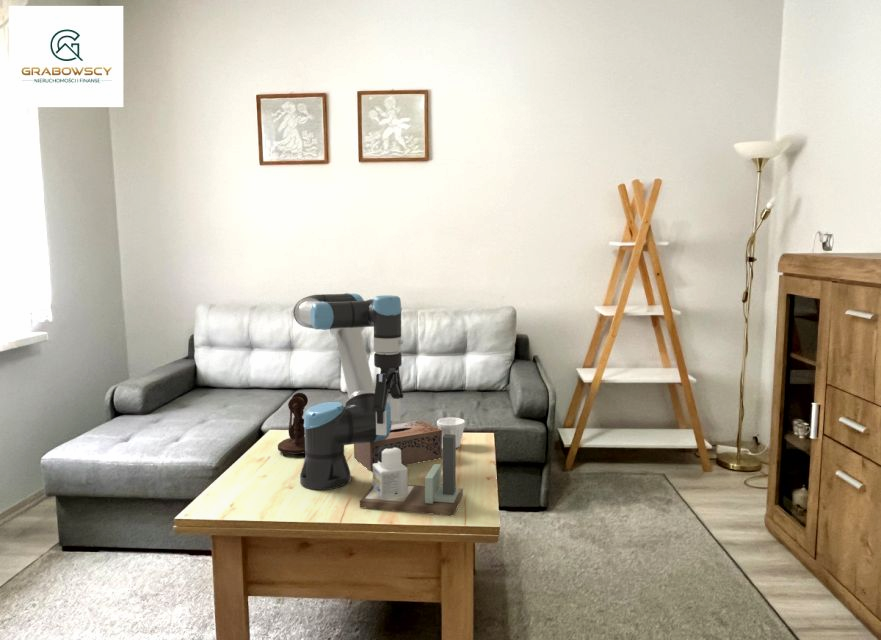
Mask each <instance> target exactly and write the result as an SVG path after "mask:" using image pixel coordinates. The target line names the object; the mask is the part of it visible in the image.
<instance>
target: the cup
mask: <svg viewBox="0 0 881 640" xmlns="http://www.w3.org/2000/svg"><path fill="white" fill-rule="evenodd" d="M436 425H437V428H438V429H440V430H442V447H443V436H444V435H445V434H451V435H456V449H459V448H458V447H461V443H462V438H463V434H464V433H463V432H464V430H465V426H466V421H465V419H463V418H459V417H442V418H439V419H437V420H436Z"/></svg>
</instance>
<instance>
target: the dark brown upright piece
mask: <svg viewBox="0 0 881 640" xmlns="http://www.w3.org/2000/svg"><path fill="white" fill-rule="evenodd" d="M308 402H309V401H308V396H307V395H306V393H304V392H295V394H293V396H292V397H291V398H290V400H289V401H288V403H287V407H288V409H289V421H288V422H289V423H288V436H289V438H286V439H283V440H282V441H280V442H279V443H277V450H278V451H279V452H280V453H281V455H282V456H283V457H284V456H285V454H292V455H293V454H295V455H296V454H305V430H304V418H303V416H304V415H305V412H304V409H305V407H306V406H307V405H308Z"/></svg>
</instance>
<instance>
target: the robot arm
mask: <svg viewBox="0 0 881 640" xmlns="http://www.w3.org/2000/svg"><path fill="white" fill-rule="evenodd" d="M402 311H403V309H402V302H401V298H400V297H399V296H398V295H390V294H389V295H387V294H386V295H376V296H375V297H374V298H372V299H366V300H364V298H363V297H362V296H361V295H360V294H358V293H349V292H345V293H332V294H329V293H327V294H326V293H325V294H320V293H319V294H312V295H308V296H305V297H302V298H301V299H299V300H298V301H297V302H296V303H295V305H294V308H293V311H292V313H293V317H294V320H295V321H296V323H297V324H298V325H300V326H302V327H304V328H308V329H315V330H323V331H326V330H329V332H330V335H331V336H332V337H334V338H335V339H336V344H337V348H338V353H339V358H340V363H341V367H342V372H343V377H344V382H345V388H346V392H347V395H348V397H347V398H348V399H347V400H346V401H345V405H344V404H343V403H342V402H340V401H328V402H326V401H325V402H321V403H319V404H317V403H316V404H315V405H313V406H311V407H309V408H307V410H305V412H304V415H303V416H304V418H303V419H304V430H305V453H304V455H305V457H304V460H303V464H302V467H301V471H300V475H299V481H300V482H299V483H300V485H301V486H303V487H304V488H307V489H310V488H311V489H310V490H331V488H332V489H337V488H340V487H342V486H345V485H347V484H348V483H350V481H351V470H350V467H349V464H348V462H347V461H348V460H347V458H346V456H345V446H349V445H354V444H358V443H366V442H376V441H379V440H384V439H386V438H387V437H388V436H389V434H390V431H391V425H393V424H392V423H393V422H401V421H402V420H401V399H403V398H404V394H403V393H404V392H403V386H402V380H401V375H400V367H401V366H402V364H403V363H402V353H401V351H402V345H403V344H404V341H403V340H402ZM372 327H373V351H374V354H373V365H374V367H376V368H377V369H380V372H379V373H376V375H375V376H376V377H375V386H374V381H373V377H372V372H371V368H370V364H369V359H368V355H367V350H366V347H365V343H364V339H363V334H362V332H363V331H364V329H365V328H372ZM389 393H390V396H391V398H390V403H389V402H388V398H389V397H388V396H389ZM336 487H337V488H336Z"/></svg>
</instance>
